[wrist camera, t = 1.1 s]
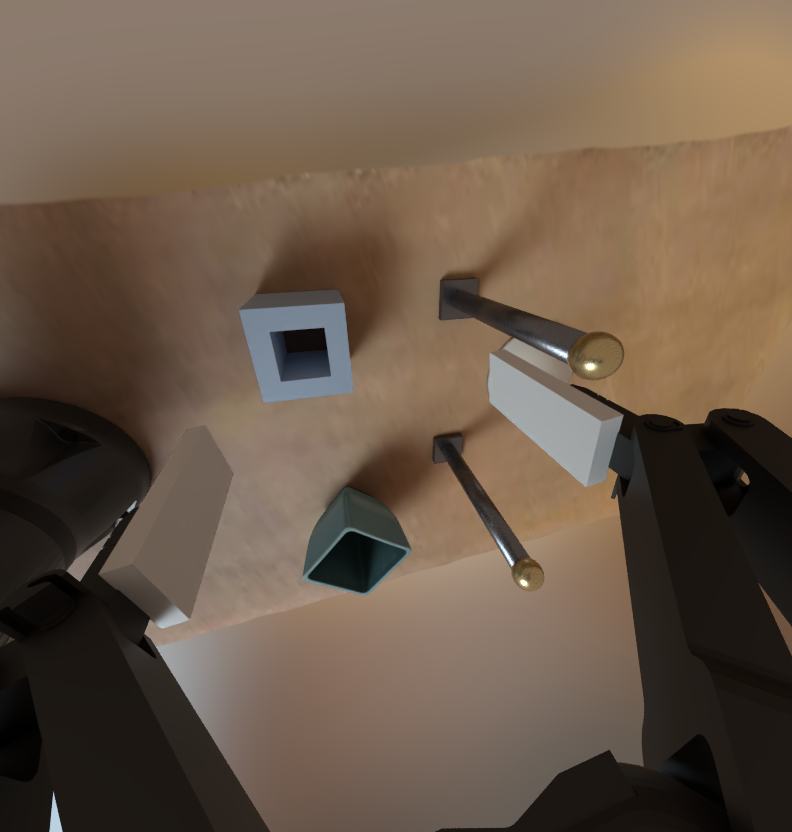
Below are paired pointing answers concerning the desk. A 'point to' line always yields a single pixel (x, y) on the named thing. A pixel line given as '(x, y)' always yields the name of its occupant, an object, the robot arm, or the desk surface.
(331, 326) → the hollow square tube
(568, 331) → the gold-tipped post pair
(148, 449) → the desk surface
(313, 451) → the desk surface
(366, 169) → the desk surface
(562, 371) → the white round disc
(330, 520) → the flower pot
